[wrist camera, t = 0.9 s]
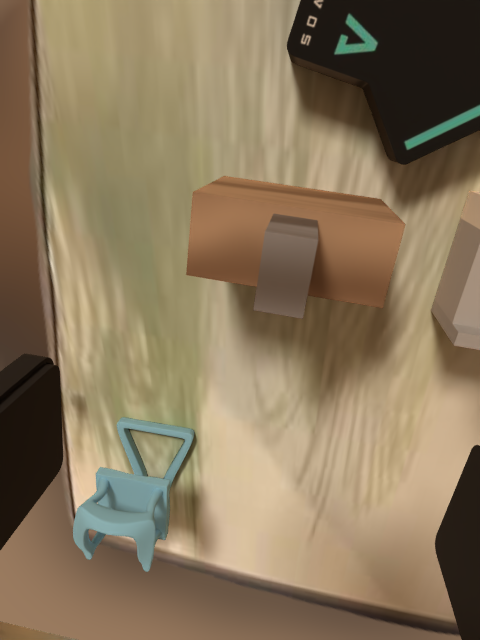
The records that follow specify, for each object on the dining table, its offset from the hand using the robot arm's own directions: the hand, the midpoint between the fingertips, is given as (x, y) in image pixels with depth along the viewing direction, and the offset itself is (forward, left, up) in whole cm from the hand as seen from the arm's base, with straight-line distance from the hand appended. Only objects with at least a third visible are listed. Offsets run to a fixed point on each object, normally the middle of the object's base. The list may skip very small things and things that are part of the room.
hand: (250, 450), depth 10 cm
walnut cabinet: (0, 0, -28) cm, 28 cm away
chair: (+26, -10, -28) cm, 39 cm away
